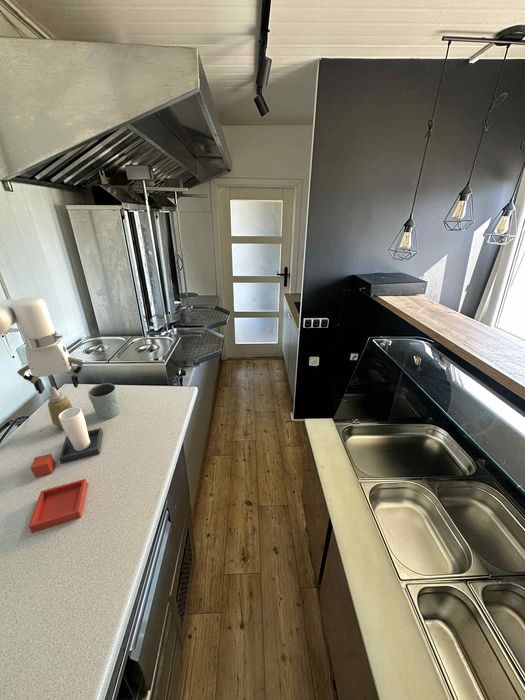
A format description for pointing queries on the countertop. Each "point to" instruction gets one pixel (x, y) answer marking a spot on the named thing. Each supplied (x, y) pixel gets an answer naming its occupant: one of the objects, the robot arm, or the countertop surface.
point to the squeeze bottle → (57, 406)
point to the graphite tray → (71, 454)
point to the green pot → (104, 400)
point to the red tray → (58, 505)
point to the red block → (42, 465)
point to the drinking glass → (75, 428)
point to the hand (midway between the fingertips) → (59, 388)
